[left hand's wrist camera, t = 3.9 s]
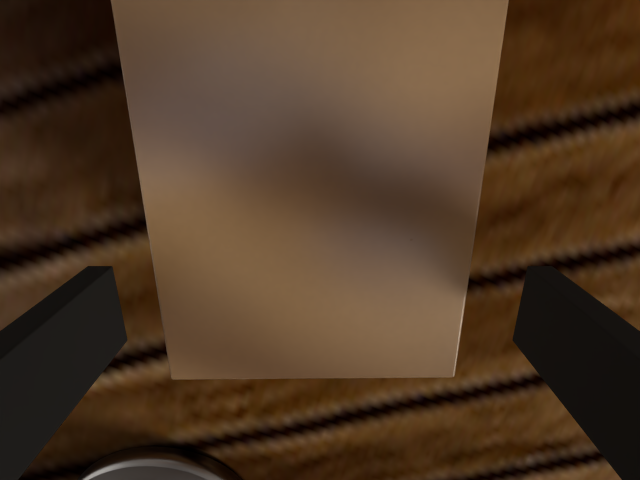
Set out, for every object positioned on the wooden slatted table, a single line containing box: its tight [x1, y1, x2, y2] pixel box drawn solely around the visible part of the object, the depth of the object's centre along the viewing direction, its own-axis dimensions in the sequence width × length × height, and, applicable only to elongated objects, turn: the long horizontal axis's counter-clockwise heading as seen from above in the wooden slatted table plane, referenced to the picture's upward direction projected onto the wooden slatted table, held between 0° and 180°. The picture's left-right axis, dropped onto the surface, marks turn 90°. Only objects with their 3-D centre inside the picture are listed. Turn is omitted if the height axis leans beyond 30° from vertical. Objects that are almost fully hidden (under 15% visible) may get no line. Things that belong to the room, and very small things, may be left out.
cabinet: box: [111, 0, 509, 379], centre depth 17 cm, size 18×11×10 cm, turn 0°
